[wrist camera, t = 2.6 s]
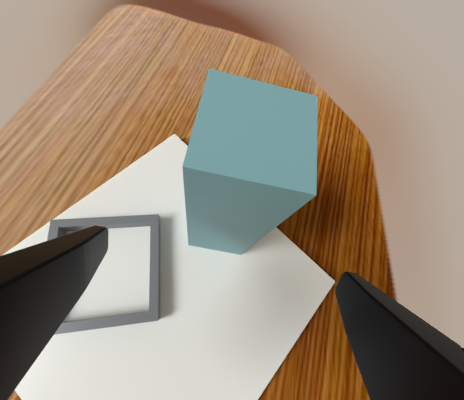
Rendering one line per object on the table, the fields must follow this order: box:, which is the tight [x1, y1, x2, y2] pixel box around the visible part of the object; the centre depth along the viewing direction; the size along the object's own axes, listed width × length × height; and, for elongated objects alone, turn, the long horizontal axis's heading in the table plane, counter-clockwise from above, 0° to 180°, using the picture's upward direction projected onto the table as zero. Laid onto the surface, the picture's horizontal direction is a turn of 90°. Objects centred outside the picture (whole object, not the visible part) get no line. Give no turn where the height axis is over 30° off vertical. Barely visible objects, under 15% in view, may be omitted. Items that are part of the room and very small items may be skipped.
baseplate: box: [3, 134, 335, 400], centre depth 18 cm, size 20×20×1 cm
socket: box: [47, 214, 160, 335], centre depth 17 cm, size 8×8×1 cm
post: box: [182, 69, 318, 255], centre depth 14 cm, size 4×4×13 cm
